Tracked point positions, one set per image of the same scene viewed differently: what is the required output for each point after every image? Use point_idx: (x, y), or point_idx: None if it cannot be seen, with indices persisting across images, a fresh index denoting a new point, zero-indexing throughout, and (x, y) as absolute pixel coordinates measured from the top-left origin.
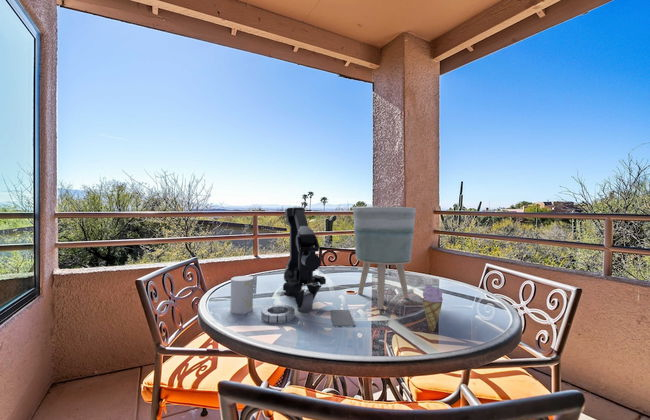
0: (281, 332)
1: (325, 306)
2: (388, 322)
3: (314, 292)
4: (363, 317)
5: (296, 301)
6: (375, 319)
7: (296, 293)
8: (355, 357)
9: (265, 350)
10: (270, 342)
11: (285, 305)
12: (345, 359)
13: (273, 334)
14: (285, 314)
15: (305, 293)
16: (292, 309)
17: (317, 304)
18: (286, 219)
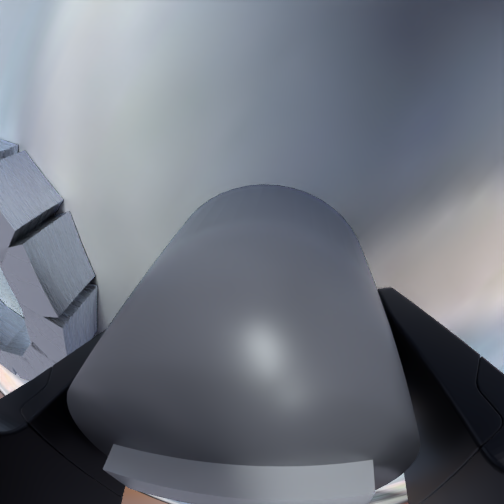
0: (26, 381)
1: (478, 331)
2: (394, 498)
3: (413, 495)
4: (397, 478)
5: (83, 357)
6: (399, 488)
7: (23, 455)
8: (167, 500)
9: (3, 395)
10: (6, 387)
11: (7, 238)
12: (146, 493)
13: (5, 369)
14: (14, 369)
15: (216, 499)
16: (53, 357)
17: (497, 244)
18: None
